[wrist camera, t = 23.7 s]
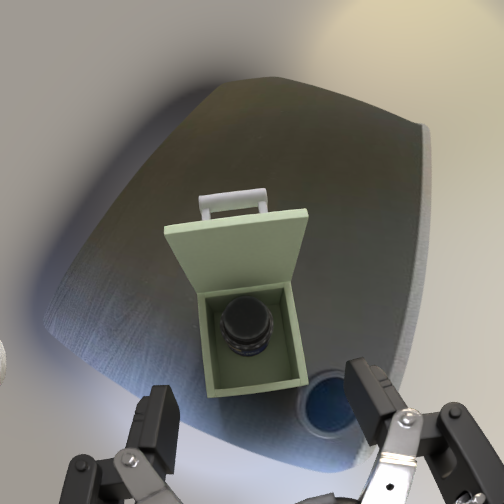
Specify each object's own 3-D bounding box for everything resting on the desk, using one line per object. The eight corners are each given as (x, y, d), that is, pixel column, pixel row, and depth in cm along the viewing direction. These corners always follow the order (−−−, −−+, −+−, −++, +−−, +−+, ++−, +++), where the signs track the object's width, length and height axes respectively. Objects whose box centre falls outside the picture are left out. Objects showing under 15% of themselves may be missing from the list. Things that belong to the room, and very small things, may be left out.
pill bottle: (222, 353, 37) (209, 340, 27) (230, 311, 40) (221, 284, 30) (267, 360, 37) (271, 350, 27) (273, 317, 39) (279, 292, 30)
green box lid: (309, 216, 22) (295, 170, 24) (163, 235, 21) (165, 186, 24) (290, 281, 34) (283, 245, 36) (196, 293, 33) (194, 256, 36)
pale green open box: (298, 384, 36) (308, 384, 29) (216, 395, 35) (207, 397, 28) (284, 299, 42) (289, 279, 35) (207, 309, 41) (197, 291, 34)
